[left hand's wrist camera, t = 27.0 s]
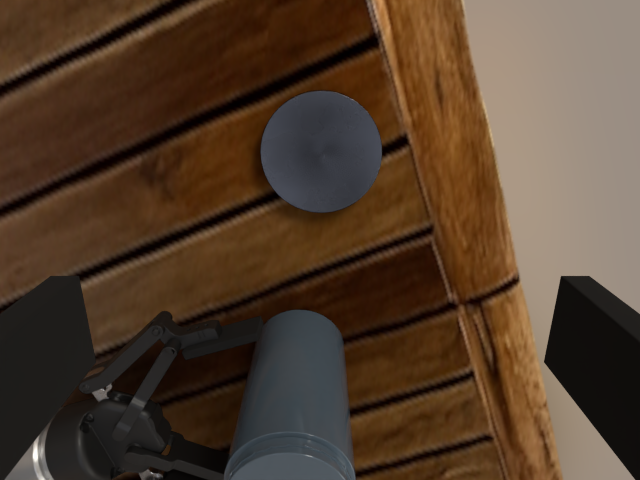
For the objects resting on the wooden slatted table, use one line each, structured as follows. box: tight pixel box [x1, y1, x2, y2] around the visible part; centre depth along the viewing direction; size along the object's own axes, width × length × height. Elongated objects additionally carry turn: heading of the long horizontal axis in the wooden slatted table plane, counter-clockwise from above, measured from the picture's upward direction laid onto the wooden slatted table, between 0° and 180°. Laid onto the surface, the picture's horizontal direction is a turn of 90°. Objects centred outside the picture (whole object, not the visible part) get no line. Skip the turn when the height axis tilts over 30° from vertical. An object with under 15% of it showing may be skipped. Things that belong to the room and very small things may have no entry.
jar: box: [224, 310, 356, 480], centre depth 38 cm, size 9×9×18 cm
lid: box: [260, 90, 382, 213], centre depth 39 cm, size 10×10×2 cm
